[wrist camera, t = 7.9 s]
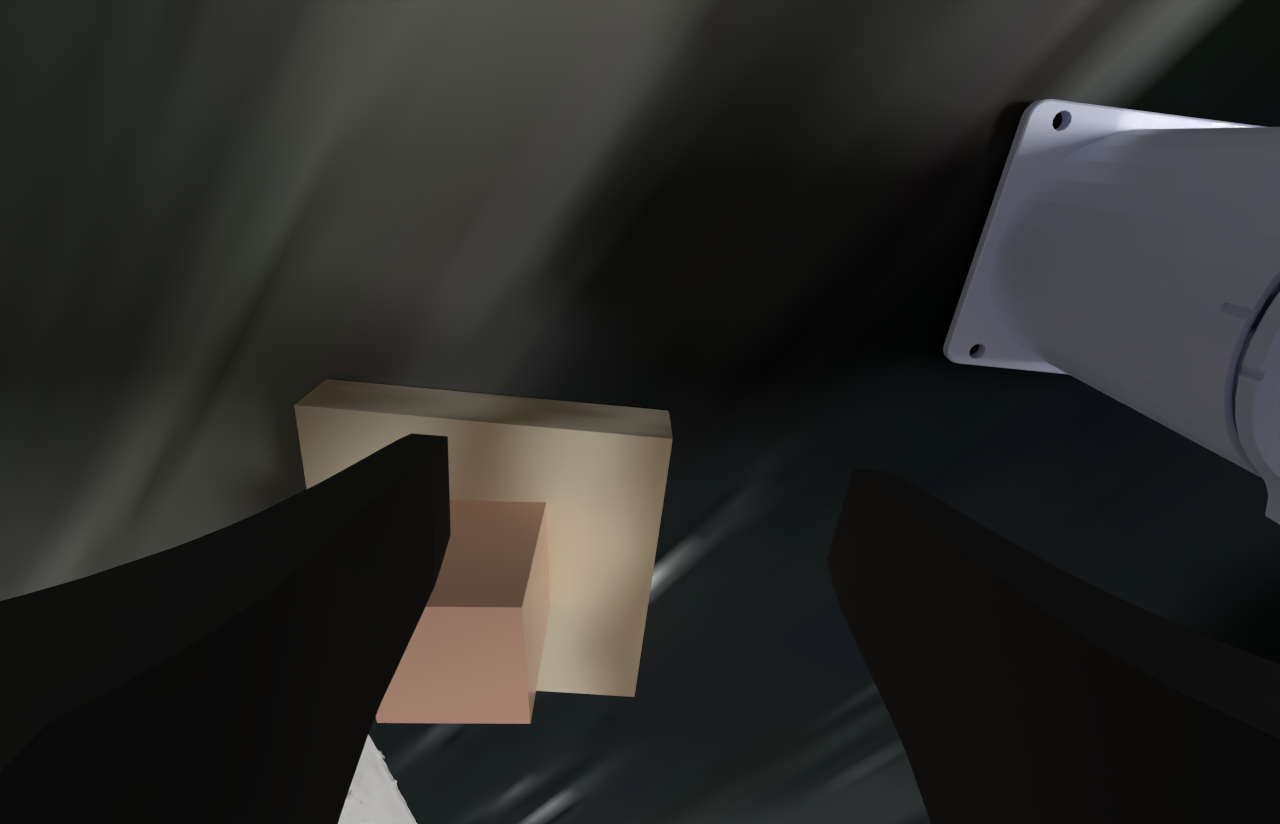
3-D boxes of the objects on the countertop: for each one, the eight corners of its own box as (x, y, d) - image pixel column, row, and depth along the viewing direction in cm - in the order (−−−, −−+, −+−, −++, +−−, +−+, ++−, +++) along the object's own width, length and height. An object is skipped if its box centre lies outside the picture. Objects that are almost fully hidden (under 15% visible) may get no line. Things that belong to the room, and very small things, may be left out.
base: (668, 410, 21) (672, 438, 19) (633, 654, 26) (634, 696, 24) (326, 379, 21) (293, 404, 19) (358, 635, 26) (335, 677, 24)
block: (545, 502, 20) (522, 607, 16) (550, 603, 22) (530, 723, 18) (413, 500, 20) (350, 605, 16) (429, 602, 22) (377, 722, 17)
